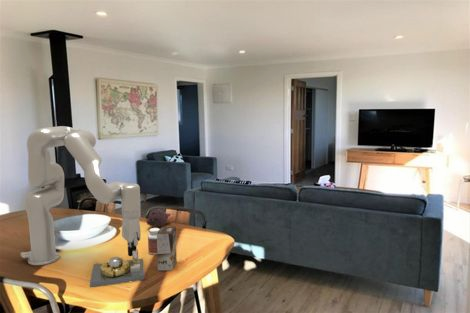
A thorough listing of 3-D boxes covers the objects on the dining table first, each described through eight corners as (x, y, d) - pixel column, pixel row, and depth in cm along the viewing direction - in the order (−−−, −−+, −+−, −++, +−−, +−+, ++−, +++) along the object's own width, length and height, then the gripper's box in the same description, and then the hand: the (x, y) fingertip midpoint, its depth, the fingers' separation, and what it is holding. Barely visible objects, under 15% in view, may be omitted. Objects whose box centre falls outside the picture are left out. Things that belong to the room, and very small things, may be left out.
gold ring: (106, 279, 138) (105, 263, 137) (97, 269, 146) (96, 254, 146) (143, 268, 147) (143, 254, 146) (133, 259, 155) (133, 245, 154)
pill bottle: (162, 254, 166) (161, 231, 165) (148, 255, 165) (147, 232, 163) (161, 249, 172) (161, 226, 171) (148, 250, 171) (147, 227, 169)
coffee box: (172, 270, 150) (171, 233, 147) (157, 270, 150) (156, 233, 148) (177, 261, 159) (176, 226, 157) (162, 261, 159) (161, 226, 157)
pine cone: (153, 232, 194) (152, 214, 192) (140, 229, 199) (139, 212, 197) (174, 223, 209) (174, 206, 207) (161, 220, 214) (161, 204, 212)
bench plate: (90, 287, 137) (89, 269, 136) (93, 268, 152) (92, 252, 151) (144, 279, 142) (143, 263, 141) (142, 262, 157) (142, 247, 156)
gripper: (116, 210, 154) (117, 251, 156) (128, 219, 142) (129, 263, 144) (133, 207, 158) (134, 247, 161) (146, 216, 146) (147, 259, 149)
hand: (132, 255), depth 153 cm, fingers closed
